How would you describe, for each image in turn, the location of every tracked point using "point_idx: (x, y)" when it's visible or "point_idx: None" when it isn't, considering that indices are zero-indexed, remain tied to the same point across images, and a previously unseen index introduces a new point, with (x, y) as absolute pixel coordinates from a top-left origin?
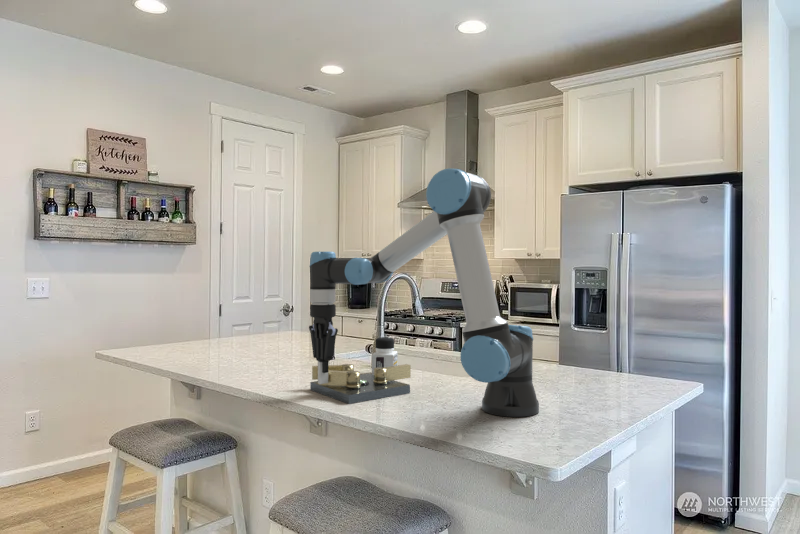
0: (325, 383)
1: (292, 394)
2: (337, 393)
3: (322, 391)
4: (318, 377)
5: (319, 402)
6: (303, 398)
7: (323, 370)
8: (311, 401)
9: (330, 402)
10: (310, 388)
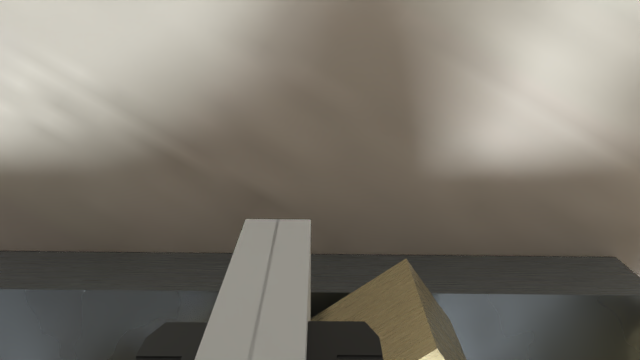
0: (319, 320)
1: (583, 4)
2: (45, 278)
3: (366, 266)
4: (292, 251)
5: (76, 58)
6: (335, 10)
7: (174, 344)
8: (162, 12)
9: (17, 147)
10: (621, 263)
